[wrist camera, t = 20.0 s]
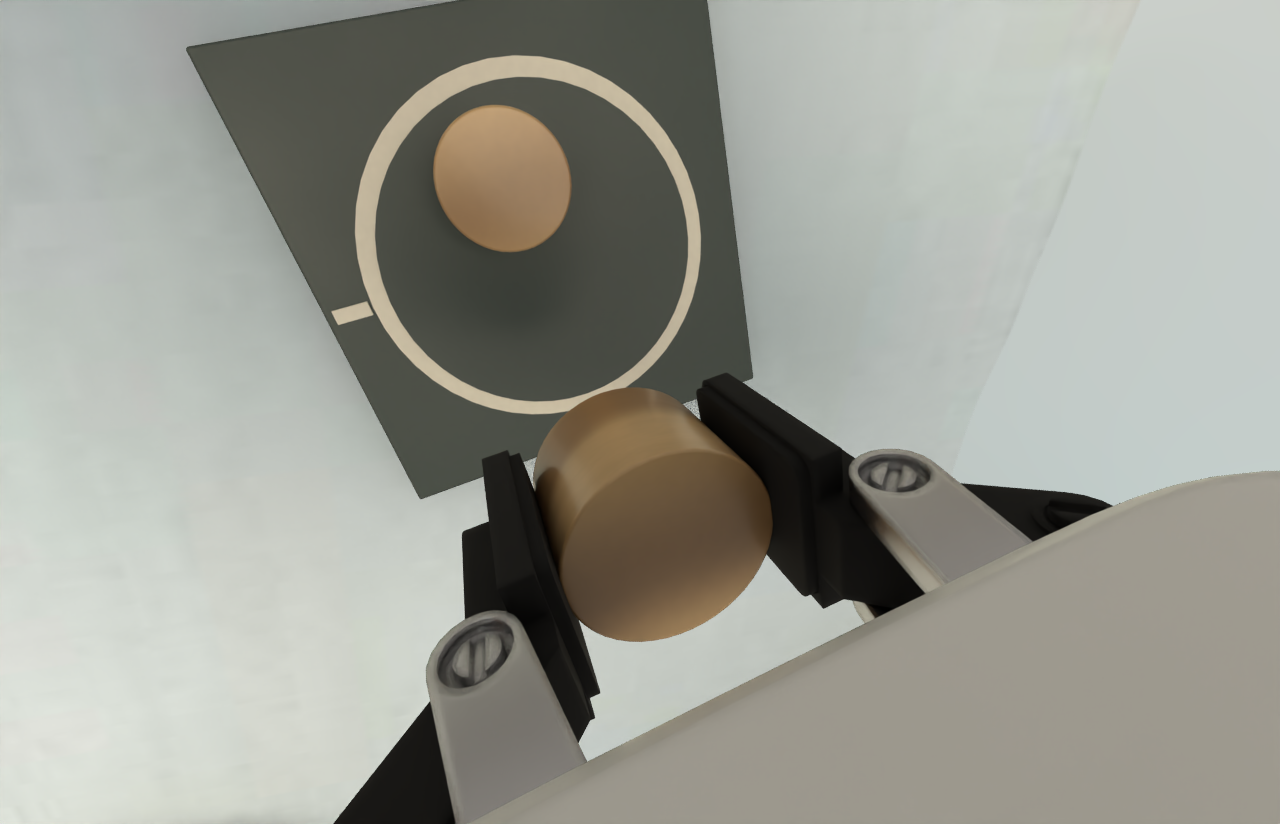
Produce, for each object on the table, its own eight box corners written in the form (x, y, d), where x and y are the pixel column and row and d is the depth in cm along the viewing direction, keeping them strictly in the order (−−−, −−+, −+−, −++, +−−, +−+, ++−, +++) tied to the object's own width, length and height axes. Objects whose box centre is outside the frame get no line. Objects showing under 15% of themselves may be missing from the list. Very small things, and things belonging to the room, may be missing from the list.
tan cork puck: (415, 131, 16) (409, 121, 14) (534, 105, 17) (550, 90, 15) (461, 256, 18) (463, 267, 16) (567, 227, 19) (586, 233, 17)
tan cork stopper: (506, 424, 10) (526, 505, 8) (688, 361, 11) (762, 415, 8) (563, 569, 12) (594, 675, 9) (715, 507, 13) (783, 588, 10)
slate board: (198, 54, 15) (180, 45, 14) (690, -32, 18) (705, -45, 17) (421, 488, 22) (419, 502, 21) (743, 372, 26) (755, 379, 25)
